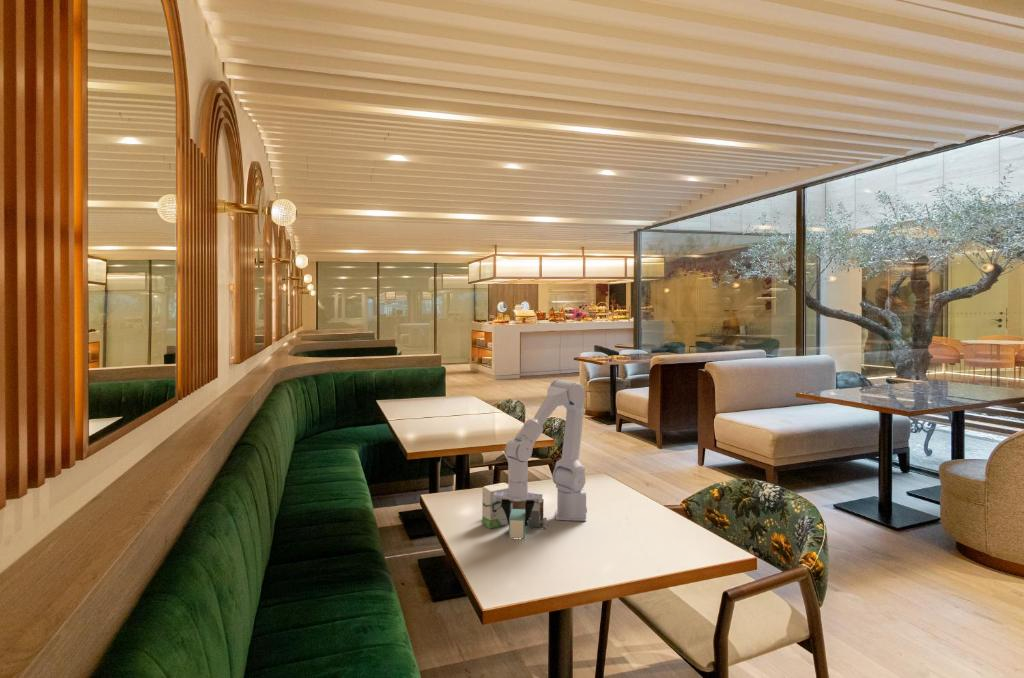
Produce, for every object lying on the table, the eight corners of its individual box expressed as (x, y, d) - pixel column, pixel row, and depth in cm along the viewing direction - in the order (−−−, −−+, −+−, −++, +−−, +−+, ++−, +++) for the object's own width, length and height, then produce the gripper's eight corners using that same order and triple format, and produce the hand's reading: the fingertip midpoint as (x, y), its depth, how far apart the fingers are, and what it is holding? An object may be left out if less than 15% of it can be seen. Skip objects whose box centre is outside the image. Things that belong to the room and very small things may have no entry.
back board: (543, 517, 186) (543, 499, 186) (543, 518, 185) (543, 500, 185) (490, 515, 188) (490, 497, 187) (490, 516, 187) (490, 498, 186)
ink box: (489, 529, 177) (489, 491, 176) (481, 523, 181) (481, 486, 180) (513, 523, 182) (513, 486, 181) (504, 518, 186) (504, 481, 185)
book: (526, 528, 177) (526, 509, 177) (524, 539, 170) (524, 519, 169) (511, 527, 178) (511, 508, 177) (509, 538, 170) (509, 518, 169)
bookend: (546, 519, 185) (546, 502, 184) (545, 529, 177) (545, 511, 177) (532, 518, 185) (532, 501, 185) (531, 528, 177) (531, 510, 177)
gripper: (491, 483, 169) (491, 528, 170) (541, 485, 168) (541, 531, 169) (495, 476, 176) (495, 519, 177) (542, 477, 175) (542, 521, 176)
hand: (517, 524), depth 174 cm, fingers closed on book, 4 cm apart
